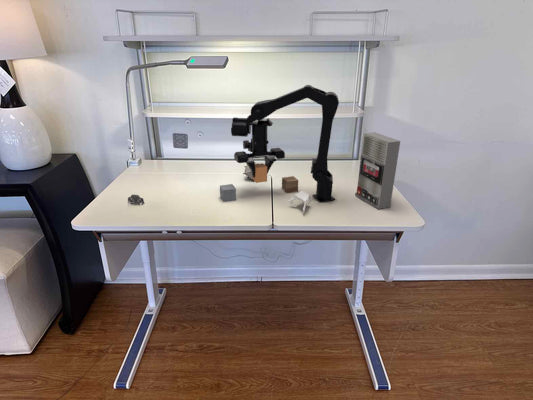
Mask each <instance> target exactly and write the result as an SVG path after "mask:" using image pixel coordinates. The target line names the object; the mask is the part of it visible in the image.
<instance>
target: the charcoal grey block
mask: <svg viewBox="0 0 533 400" xmlns="http://www.w3.org/2000/svg"><path fill="white" fill-rule="evenodd" d="M219 197H220V199H221V200H222V203H228V202H229V203H230V202H234V201H237V188H236V186H234V184H233V183H230V184H222V185H219Z"/></svg>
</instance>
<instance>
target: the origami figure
mask: <svg viewBox="0 0 533 400" xmlns="http://www.w3.org/2000/svg"><path fill="white" fill-rule="evenodd" d="M296 199H297V200H299V201H301V202H302V203H304V205H303V208H302V211H303V212H301V215H304V213H305V212H306V211H305V209H306V206H307V207H308V208H309V205H310V204H311V202H312V201H313V199H312V198H311V196H310V194H309V193H307V192H305V191H304V190H301V191H298V193H296V194H293V195H292V197H291V198H290V199H288V202H289V203H290V204H292V206H291V208H296V207H297V206H296V205H295V203H294V202H293V201H295V200H296Z"/></svg>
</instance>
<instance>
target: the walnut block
mask: <svg viewBox="0 0 533 400" xmlns="http://www.w3.org/2000/svg"><path fill="white" fill-rule="evenodd" d="M281 189H282V190H283V191H284V192H285V193H286V194H291V193H297V192H298V193H299V179H298V178H297V177H295V176H293V175H292V176H285V177H284V176H283V177H281Z"/></svg>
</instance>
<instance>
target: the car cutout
mask: <svg viewBox="0 0 533 400" xmlns="http://www.w3.org/2000/svg"><path fill="white" fill-rule="evenodd" d="M127 204H128V207H129V206H130V205H137V206H138V205H139V206H140V207H142V206H144V204H145V200H144V198H142V197H140V195H139V194H131V195H130V196H129V197H127Z"/></svg>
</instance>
